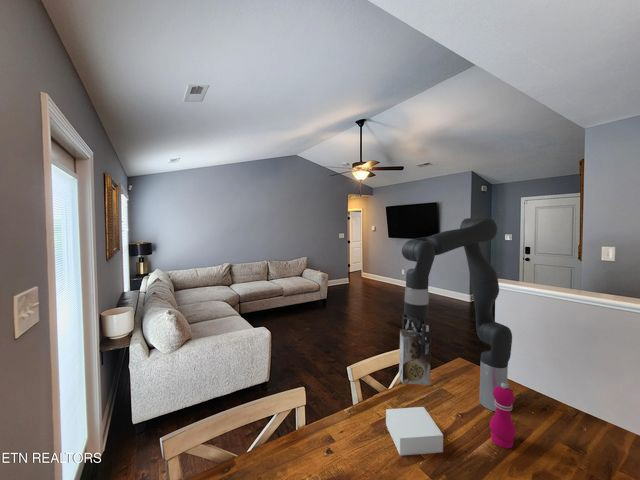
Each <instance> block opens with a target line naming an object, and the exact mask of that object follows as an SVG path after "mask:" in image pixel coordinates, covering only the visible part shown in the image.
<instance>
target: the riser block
mask: <svg viewBox="0 0 640 480" xmlns="http://www.w3.org/2000/svg"><path fill="white" fill-rule="evenodd" d="M385 425H386V427H387V430H388V432H389V434H390V436H391V439H392V441H393V442H394V445H395V448H396V449H397V452H398V455H399V456H401V457H402V456H413V455H424V454H435V453H443V452H444V434H443V433H442V431H441V430H440V428H439V427H438V426H437V424H436V423H435V421H434V419H433V418H432V417H431V416H430V414H429V412H428V411H427V409H426V408H425V407H424V406H416V407H404V408H403V407H399V408H387V409H385Z"/></svg>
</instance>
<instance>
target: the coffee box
mask: <svg viewBox="0 0 640 480" xmlns="http://www.w3.org/2000/svg"><path fill="white" fill-rule="evenodd" d="M418 333H422V331H421V332H418ZM421 337H422V336H420V338H421ZM426 339H427V337H426ZM431 352H432V340H431V341H430V344H426V348H425V355H419V354H418V339H417V337H416V336H415V333H414V331H413V330H407V329H402V328H400V329H399V360H398V362H399V363H398V365H399V367H398V375H399V378H400V382H401V384H404V385H407V384H409V385H425V386H427V385H429V386H431V364H432V363H431V361H432V359H431V358H432V353H431Z"/></svg>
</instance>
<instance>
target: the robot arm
mask: <svg viewBox="0 0 640 480" xmlns="http://www.w3.org/2000/svg"><path fill="white" fill-rule="evenodd" d="M497 232H498V227H497V223H496V222H495V220H494V219H493V218H491V217H485V216H481V217H469V218H468V217H467V218H463V220H462V221H461V223H460V227H459V228H456V229H449V230H445V231H441V232H438V233H435V234H433V235H428V236H422V237H417V238H411V239H409V240H407V241H405V243H404V244H403V245H402V247H401V255H402V257H403V258H404V259H406V260H407V261H409V262H416V263H415V267H414V268H409V269H408V270H406V275H405V289H404V304H403V305H404V306H403V307H404V310H403V313H402V322H401V323H402V325H401V329H407V330H413V331H414V333H415V336H416V337H417V339H418V354H419V355H425V348H426V344H430V341H431V342H432V337H431V335H432V326H431V324H426V322H425V318H427V317H428V316H429V305H430V304H429V299H430V294H429V292H430V291H429V277H430V274H431V273H430V272H431V270H432V268H433V267H432V266H433V263H434V261H435V257H436V256H439V255H442V254H443V255H444V254H445V253H448V252H450V251H453V250H455V249H459V248H462V247H463V250H464V251H465V256H466V261H467V266H468V271H469V278H470V279H469V281H470V285H471V290H472V295H473V303H474V309H475V310H474V311H475V329H476V334H477V337H478V339H479V340H480V341H481V342H483V343H484V344H487V345H489V346H490V350H485V351H483V352H481V353H480V370H479V372H480V373H479V374H480V375H479V396H478V397H479V403H480V405H481V406H482V407H484V408H485V409H487V410H489V411H493V412H496V406H495V404H494V403H495V398H494V396H493V390H494V388H496V387H497V386H501V384H502V383H505V384H506V385H507V388H509V389H510V383H509V382H508V373H509V372H508V368H509V361H510V359H511V355H512V345H513V333H512V330H511V329H510V328H509V327H508V326H506V325H504V324H501V323H499V322H497V321H495V320H494V317H493V316H494V315H493V306H494V304H495V302H496V300H497V299H498V296H499V293H500V285H499V277H498V274H497V272H496V270H495V268H494V267H493V266H492V264H491V263H490V262H489V260H487V258H486V257H485V255H484V253H483V252H482V250H481V246H480V243H488V242H491V241H492V240H494V238H496V235H497V234H498V233H497ZM421 331H422V333H418V332H421ZM420 336H422V337H421V338H420ZM426 337H427V339H426Z"/></svg>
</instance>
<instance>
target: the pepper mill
mask: <svg viewBox="0 0 640 480" xmlns="http://www.w3.org/2000/svg"><path fill="white" fill-rule="evenodd" d="M493 396H494V398H495V403H494V404H495V406H496V411H494V414H493V416H492V417H491V419H490V421H489V429H490V430H491V432H490V439H491V441H492V442H493V443H494V444H495V445H497V446H498V447H500V448H503V449H511V448H513V446H514V438H515V437H516V428H515V425H514V422H513V421H512V418H511V411H512V410H513V407H514V406H513V404H514V402H515V394H514V393H513V391H512V390H511V389H510V387H509V388H507V385H506V384H505V383H502V384H501V386H497V387H496V388H494V390H493Z"/></svg>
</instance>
